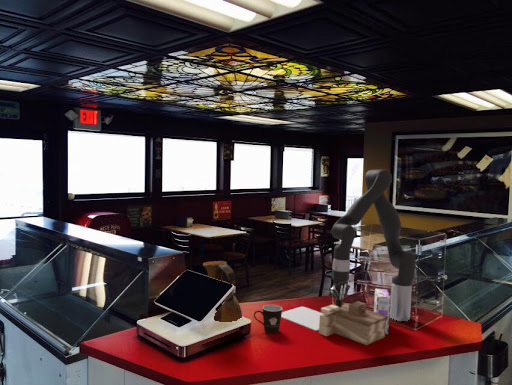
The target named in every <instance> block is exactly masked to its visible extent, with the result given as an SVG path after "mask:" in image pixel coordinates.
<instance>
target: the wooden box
mask: <svg viewBox="0 0 512 385" xmlns="http://www.w3.org/2000/svg"><path fill="white" fill-rule="evenodd" d="M385 327H386V320H384V321H382V322H379V323H377V324H374V325H372V326H369V327H367V326H364V325H362V324H359V323H356V322H353V321H350V320H347V319H344V318H341V317H339V316H336V315H333V314H326V313H323V314H322V315H320V322H319V330H318V334H320V335H322V336H324V337H328V336H330V335H333V334H336V335H338V336H341V337H343V338H347V339H349V340H352V341H355V342H357V343H359V344H363V345H365V346H368V345H370V344H372V343H375V342H377V341H380V340H382V339H384V338H385V337H386V334H385Z"/></svg>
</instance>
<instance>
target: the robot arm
mask: <svg viewBox="0 0 512 385" xmlns="http://www.w3.org/2000/svg"><path fill="white" fill-rule="evenodd" d="M364 181H365V182H364V183H365V185H366V188H367V191H366V192H364V194H362V195H361V196H360V197H358V198H357V199H356V200H354V202H353V203H352V205H350V207H349V208H348V211H347V212H346V213H345V214H344V215H343V216H342V217H341V218H339V219H338V220H336V222H335V223H334V224H333V225H332V227H331V236H332V237H333V238H335V239H337V240H341V242H340V244H337V245H335V246H334V248H333V260H332V267H331V268H332V271H331V279H332V280H333V282H332V287H329V289H328V291H329V293H330V295H331V296H332V298H333V299H335V306H338V307H340V308H341V307H342V305H343V300H344V298H346V296H347V295H348V293H349V290H350V288H351V285H350V284H348V281H349V280H350V269H351V262H350V260H351V250H352V247H353V244H354V240H355V238H356V231H355V228H354V227H353V226H357V225H359V224H360V222H361V220H362V219H363V218H364V216H365V215H366V214H367V212H368V211H369V210H370V208H371V207H372V206H373V205H374V208H375V212H376V214H377V217H378V221H379V225H380V228H381V231H382V234H383V237H384V241H385V244H386V248H387V253H388V258H389V262H390V264H391V265H392V266H393V267H394V268H396V269H397V270H398V273H397V275H394V276H392V278H391V286H390V287H391V290H390V298H391V299H390V313H389V319H391V318H392V319H391V320H393V319H394V320H393V321H396V320H397V321H396V322H401V321H406V322H409V321H410V318H411V307H412V288H413V287H412V286H413V281H414V279H415V273H416V272H415V271H416V266H417V264H416V262H417V260H416V256H415V255H414V254H413V253H412V252H410V251H407V250H404V249H403V247H402V244H401V241H400V235H401V230H402V222H401V219H400V216H399V212H398V211H397V209H396V207H395V206H394V205H393V204H392V203H391V202H390V200H389V199H388V198H387V197H386V195H385V193H384V192H386V191H387V190H388V189H389V187H390V186H391V184H392V181H393V175H392V173H391V172H390V171H389V170H388V169H385V168H383V169H370V170H367V172H366V173H365V176H364ZM408 320H409V321H408Z"/></svg>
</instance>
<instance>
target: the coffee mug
mask: <svg viewBox="0 0 512 385" xmlns="http://www.w3.org/2000/svg"><path fill="white" fill-rule="evenodd" d="M283 310H284V309H283V307H282V306H280V305H278V304H266V305H263V306H262V311H261V310H256V311H254V313H253V317H254V319H255V321H257V322H258V323H260V324H262V325H263V331H264V332H265V333H267V334H278V333H279V332H280V327H281V326H280V325H281V320H282V318H281V315H282V312H283ZM257 313H260V314H261V315H262V316H263V318H262V319H263V322H262V321H261V320H260V319H258V318H257V317H256V314H257ZM277 332H278V333H277Z"/></svg>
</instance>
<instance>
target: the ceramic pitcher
mask: <svg viewBox="0 0 512 385" xmlns="http://www.w3.org/2000/svg"><path fill="white" fill-rule="evenodd" d="M202 267H204V269H205V270H206V272H207V275H208V276H209V278H210V277H212V278H215V279H218V280H221V281H223V282H224V280H223V274H224V275H225V277H226V281H227V284H228V283H230V284H233V285H234V286H235V287H236V283H237V281H236V275H235V272H234V270H233V268H232V267H231V266H230V265H229V264H228V262H227V261H224V260H217V261H215V260H214V261H206V262H203V263H202ZM208 276H207V277H208ZM209 278H208V279H209ZM240 318H242V319H243V312H242V308H241V305H240V302H239V301H238V299H237V297H236V296H235V295H234V294H233V297H232V298H230V299H229V300H227V301H226V302H225V303H224V304H223V305H222V306H221V307H220V308H219V310H218V311H217V312H216V313H215V316H214V320H215V321H219V322H232V321H237V320H238V319H240Z"/></svg>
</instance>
